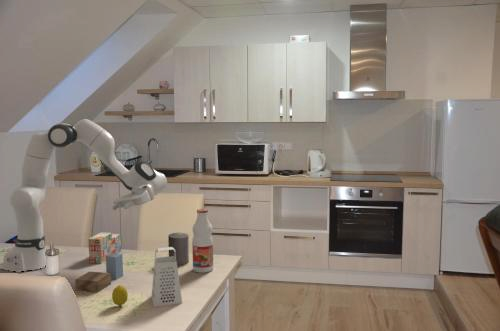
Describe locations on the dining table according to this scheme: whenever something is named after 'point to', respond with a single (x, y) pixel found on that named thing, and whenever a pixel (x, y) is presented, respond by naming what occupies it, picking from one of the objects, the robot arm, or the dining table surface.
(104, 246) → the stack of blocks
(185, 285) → the dining table surface
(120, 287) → the lemon
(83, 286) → the walnut block
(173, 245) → the pillar candle
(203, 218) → the fruit juice
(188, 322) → the dining table surface
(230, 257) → the dining table surface
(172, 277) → the grater
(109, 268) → the slate block
